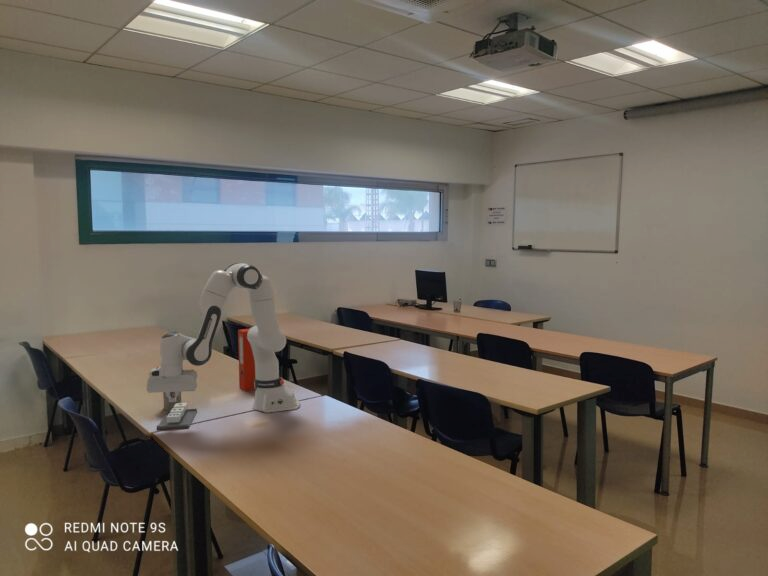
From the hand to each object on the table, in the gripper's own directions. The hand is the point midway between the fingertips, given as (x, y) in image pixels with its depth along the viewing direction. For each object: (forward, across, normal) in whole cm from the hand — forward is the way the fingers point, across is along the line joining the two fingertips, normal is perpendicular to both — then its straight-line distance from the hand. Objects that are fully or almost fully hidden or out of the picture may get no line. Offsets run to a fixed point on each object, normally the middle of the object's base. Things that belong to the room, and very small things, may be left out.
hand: (172, 401), depth 231 cm
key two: (+8, 0, -7) cm, 11 cm away
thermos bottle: (+11, +6, -26) cm, 29 cm away
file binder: (+10, -32, -55) cm, 65 cm away
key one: (+8, 0, -14) cm, 17 cm away
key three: (+8, 0, 0) cm, 8 cm away
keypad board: (+11, 0, -7) cm, 13 cm away
